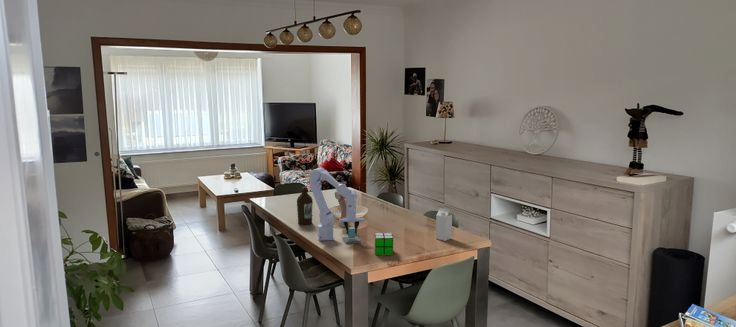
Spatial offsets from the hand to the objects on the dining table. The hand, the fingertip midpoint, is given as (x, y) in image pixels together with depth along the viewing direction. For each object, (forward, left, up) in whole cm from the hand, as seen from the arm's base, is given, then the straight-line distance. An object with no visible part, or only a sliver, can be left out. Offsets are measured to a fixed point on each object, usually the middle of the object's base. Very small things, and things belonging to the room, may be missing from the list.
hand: (351, 233), depth 317 cm
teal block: (0, 0, -2) cm, 2 cm away
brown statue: (-2, +35, -5) cm, 35 cm away
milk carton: (+57, -2, -5) cm, 57 cm away
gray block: (0, 0, -5) cm, 5 cm away
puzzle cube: (+16, -23, -5) cm, 28 cm away
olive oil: (-27, +44, -5) cm, 52 cm away
